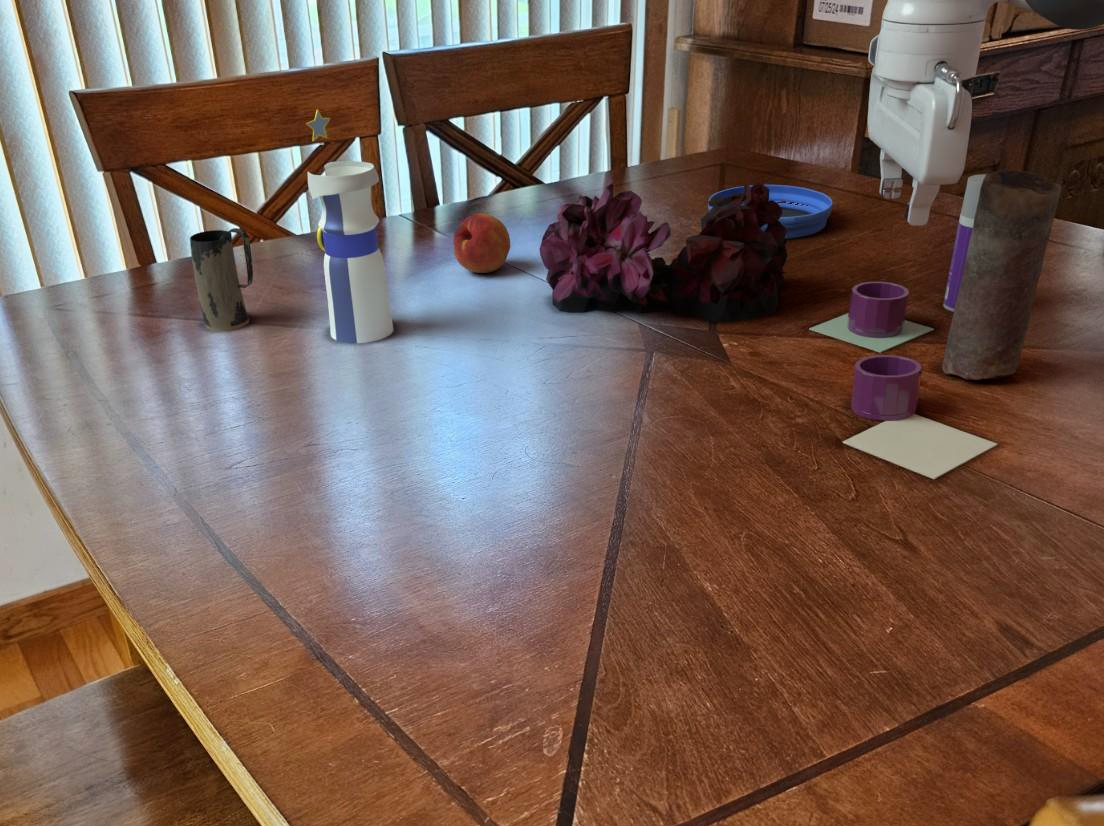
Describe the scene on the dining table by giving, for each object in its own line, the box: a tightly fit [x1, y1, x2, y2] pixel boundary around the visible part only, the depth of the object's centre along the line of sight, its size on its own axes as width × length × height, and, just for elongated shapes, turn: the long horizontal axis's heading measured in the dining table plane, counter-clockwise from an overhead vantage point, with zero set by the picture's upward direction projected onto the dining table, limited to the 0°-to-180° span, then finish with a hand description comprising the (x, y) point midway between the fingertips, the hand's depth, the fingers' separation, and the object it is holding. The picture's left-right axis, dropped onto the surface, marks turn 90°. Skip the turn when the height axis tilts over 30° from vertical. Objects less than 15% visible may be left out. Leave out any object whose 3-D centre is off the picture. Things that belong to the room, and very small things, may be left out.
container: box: [942, 173, 987, 313], centre depth 128 cm, size 5×5×15 cm
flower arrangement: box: [539, 173, 788, 323], centre depth 135 cm, size 31×20×15 cm, turn 88°
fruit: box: [453, 212, 511, 274], centre depth 149 cm, size 8×8×8 cm
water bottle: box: [305, 109, 394, 344], centre depth 127 cm, size 8×9×25 cm
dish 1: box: [847, 281, 910, 338], centre depth 126 cm, size 6×6×4 cm
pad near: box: [842, 413, 999, 480], centre depth 103 cm, size 10×10×1 cm
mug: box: [189, 227, 254, 332], centre depth 135 cm, size 8×6×12 cm
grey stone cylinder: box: [941, 169, 1062, 381], centre depth 111 cm, size 8×7×20 cm
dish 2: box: [850, 354, 923, 422], centre depth 109 cm, size 6×6×4 cm
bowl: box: [707, 184, 834, 240], centre depth 164 cm, size 18×18×4 cm
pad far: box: [809, 312, 935, 354], centre depth 128 cm, size 10×10×1 cm
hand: (901, 210), depth 107 cm, fingers open, 8 cm apart
